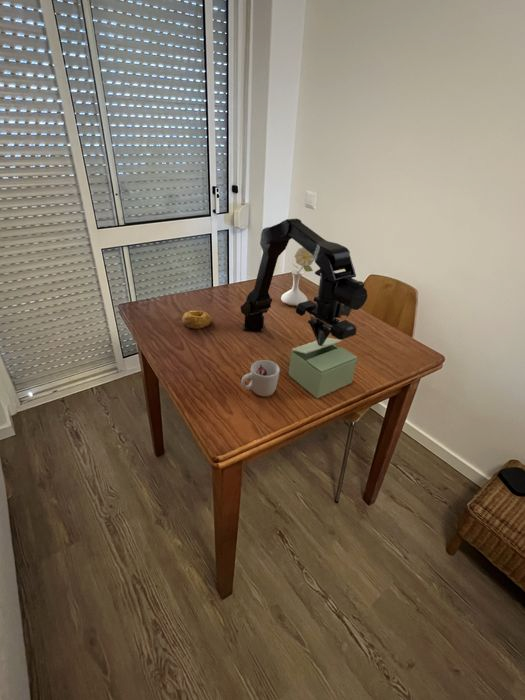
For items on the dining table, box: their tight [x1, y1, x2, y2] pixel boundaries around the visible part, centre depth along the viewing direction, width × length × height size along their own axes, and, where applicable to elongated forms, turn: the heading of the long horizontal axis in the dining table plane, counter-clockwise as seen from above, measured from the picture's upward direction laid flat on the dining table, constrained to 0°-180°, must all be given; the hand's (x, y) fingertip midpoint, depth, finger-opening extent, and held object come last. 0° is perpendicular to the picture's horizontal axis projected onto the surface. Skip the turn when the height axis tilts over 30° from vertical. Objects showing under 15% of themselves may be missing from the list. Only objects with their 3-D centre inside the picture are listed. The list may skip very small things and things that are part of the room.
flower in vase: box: [280, 246, 315, 307], centre depth 145 cm, size 13×11×25 cm
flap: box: [291, 336, 342, 354], centre depth 103 cm, size 6×14×1 cm, turn 125°
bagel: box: [181, 310, 213, 330], centre depth 130 cm, size 10×11×5 cm
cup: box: [240, 359, 281, 397], centre depth 97 cm, size 11×8×8 cm
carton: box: [288, 344, 358, 399], centre depth 104 cm, size 13×14×9 cm
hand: (320, 344), depth 102 cm, fingers closed
